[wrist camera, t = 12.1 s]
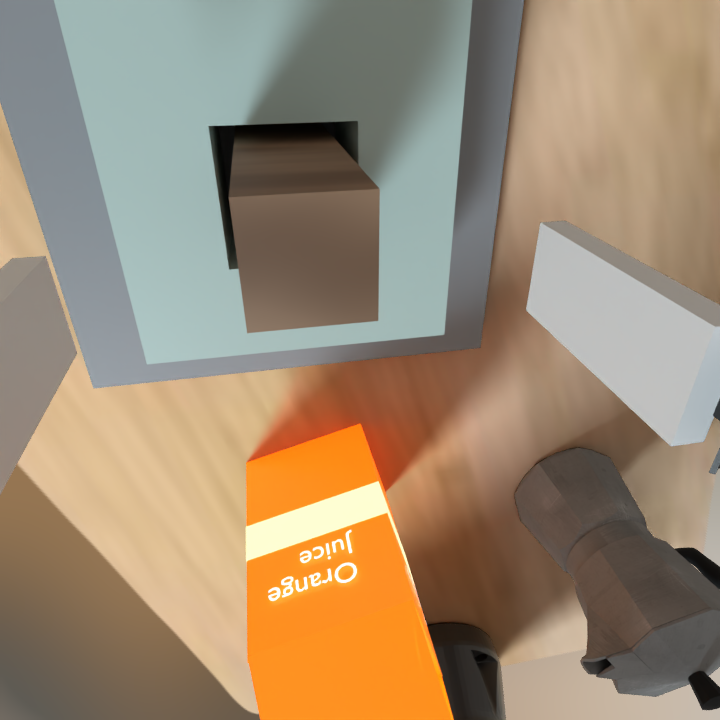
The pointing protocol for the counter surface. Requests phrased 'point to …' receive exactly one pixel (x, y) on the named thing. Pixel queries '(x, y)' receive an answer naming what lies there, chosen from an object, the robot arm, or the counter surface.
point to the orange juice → (333, 591)
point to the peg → (303, 229)
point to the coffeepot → (626, 579)
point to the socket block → (214, 162)
